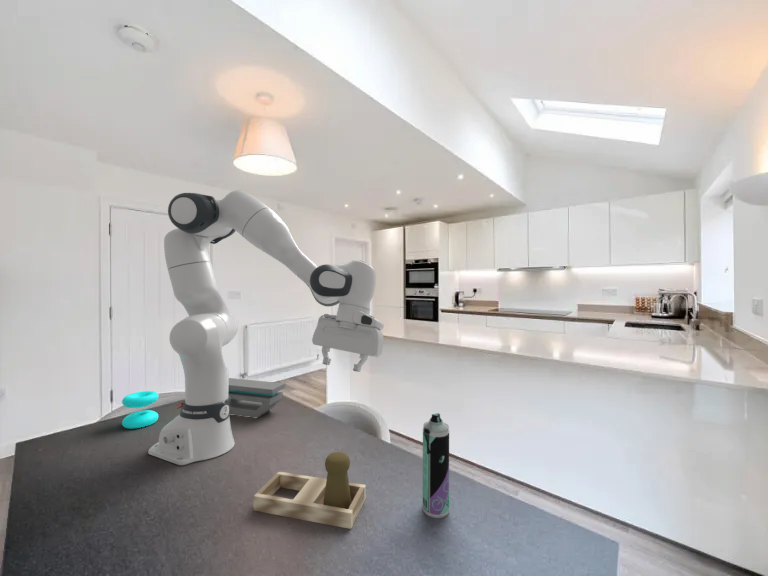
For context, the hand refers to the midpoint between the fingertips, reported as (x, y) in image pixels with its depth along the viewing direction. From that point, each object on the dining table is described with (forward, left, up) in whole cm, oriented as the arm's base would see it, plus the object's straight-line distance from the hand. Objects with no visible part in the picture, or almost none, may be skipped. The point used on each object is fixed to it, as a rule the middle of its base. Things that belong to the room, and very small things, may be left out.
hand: (340, 368), depth 89 cm
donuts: (-74, +5, -25) cm, 79 cm away
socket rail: (+1, -19, -25) cm, 31 cm away
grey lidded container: (-45, +23, -25) cm, 56 cm away
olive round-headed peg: (+7, -19, -25) cm, 32 cm away
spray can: (+27, -14, -25) cm, 39 cm away
